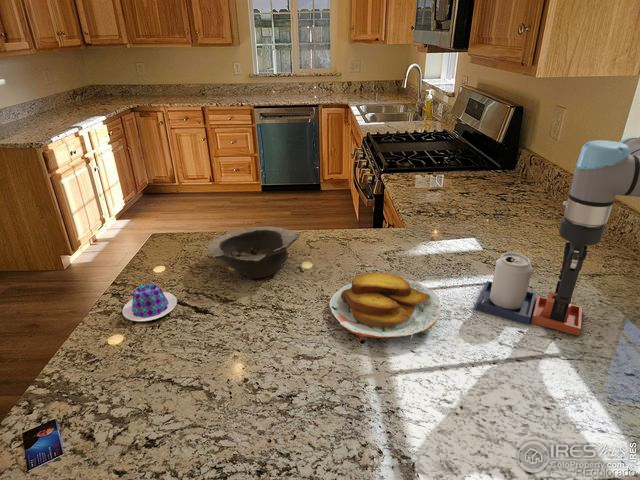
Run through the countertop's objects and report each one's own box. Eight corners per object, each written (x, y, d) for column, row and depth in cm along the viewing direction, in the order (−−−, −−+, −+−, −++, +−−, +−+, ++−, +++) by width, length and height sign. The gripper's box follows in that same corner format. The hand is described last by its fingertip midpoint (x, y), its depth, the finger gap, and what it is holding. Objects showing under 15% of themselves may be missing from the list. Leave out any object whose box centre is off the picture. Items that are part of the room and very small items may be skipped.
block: (567, 314, 96) (572, 296, 94) (565, 325, 92) (571, 307, 90) (544, 308, 98) (549, 291, 96) (542, 318, 94) (547, 301, 92)
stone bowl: (278, 292, 105) (274, 259, 101) (193, 282, 113) (185, 251, 109) (312, 248, 125) (309, 219, 121) (238, 242, 134) (233, 215, 130)
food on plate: (367, 363, 82) (368, 336, 80) (310, 299, 102) (310, 276, 100) (465, 324, 93) (469, 299, 90) (396, 274, 113) (398, 252, 110)
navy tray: (534, 299, 102) (536, 292, 101) (528, 324, 93) (530, 317, 92) (485, 287, 107) (487, 280, 106) (475, 309, 98) (477, 302, 97)
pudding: (175, 290, 107) (172, 272, 104) (179, 316, 96) (175, 297, 94) (123, 300, 103) (119, 281, 100) (122, 329, 93) (117, 309, 90)
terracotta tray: (580, 313, 96) (582, 306, 96) (578, 336, 89) (581, 328, 89) (535, 302, 101) (537, 295, 100) (531, 322, 94) (532, 315, 93)
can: (492, 291, 104) (500, 247, 99) (525, 299, 101) (536, 255, 96) (485, 306, 99) (494, 261, 93) (520, 316, 95) (531, 269, 90)
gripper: (565, 201, 94) (542, 290, 104) (559, 234, 79) (533, 333, 89) (605, 208, 90) (577, 298, 100) (606, 243, 75) (573, 345, 85)
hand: (556, 315), depth 95 cm, fingers open, 6 cm apart
